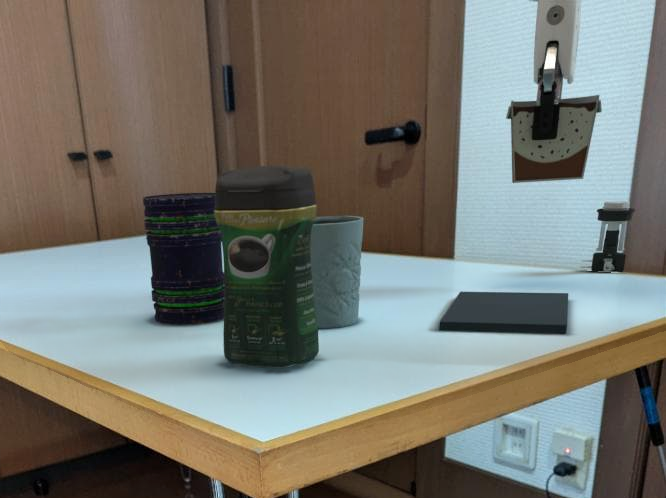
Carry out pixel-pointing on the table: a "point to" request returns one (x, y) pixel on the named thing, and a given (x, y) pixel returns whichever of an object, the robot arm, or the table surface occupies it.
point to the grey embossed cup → (336, 269)
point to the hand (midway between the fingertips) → (545, 138)
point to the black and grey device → (611, 237)
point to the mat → (507, 312)
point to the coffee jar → (267, 265)
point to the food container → (552, 141)
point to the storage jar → (185, 258)
